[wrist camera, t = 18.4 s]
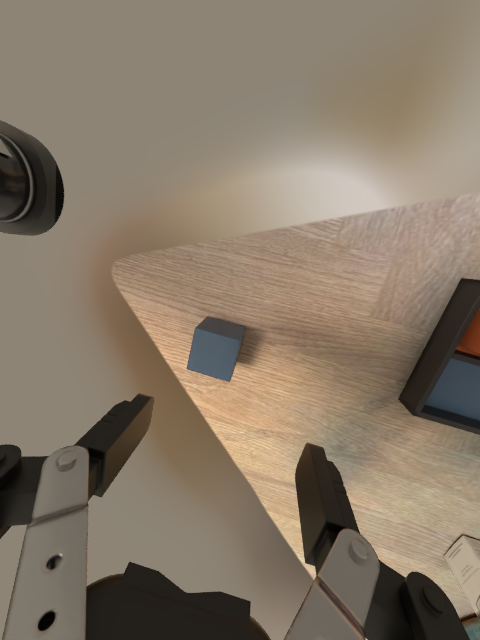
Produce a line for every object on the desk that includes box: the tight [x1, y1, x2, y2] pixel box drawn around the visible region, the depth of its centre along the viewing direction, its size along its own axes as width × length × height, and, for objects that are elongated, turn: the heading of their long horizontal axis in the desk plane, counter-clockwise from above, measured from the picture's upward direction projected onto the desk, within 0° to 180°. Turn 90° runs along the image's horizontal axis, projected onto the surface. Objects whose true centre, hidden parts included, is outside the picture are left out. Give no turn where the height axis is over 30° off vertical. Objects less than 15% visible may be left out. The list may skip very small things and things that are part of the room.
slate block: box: [187, 317, 246, 382], centre depth 25 cm, size 5×5×5 cm
